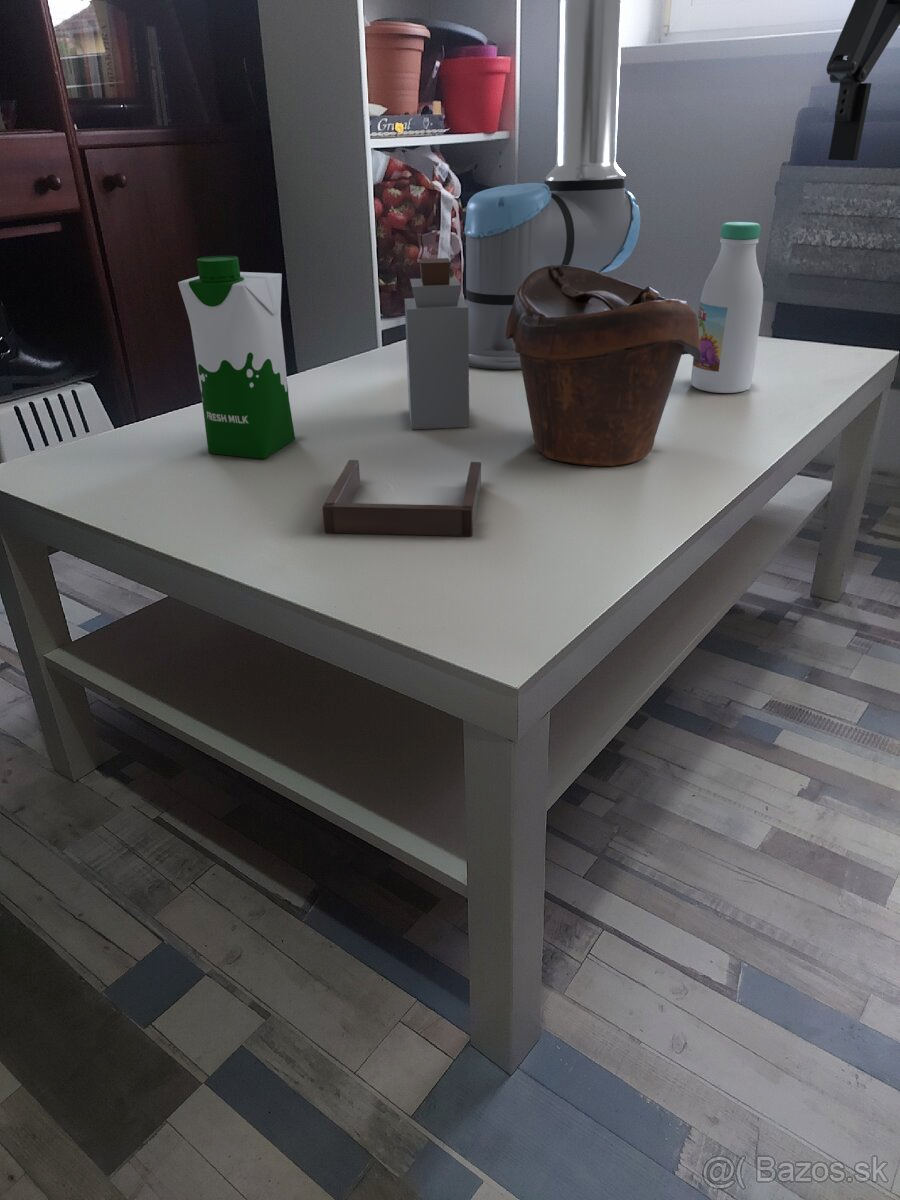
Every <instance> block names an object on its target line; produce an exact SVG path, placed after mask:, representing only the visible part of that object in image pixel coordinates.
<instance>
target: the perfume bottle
mask: <svg viewBox="0 0 900 1200" xmlns="http://www.w3.org/2000/svg"><path fill="white" fill-rule="evenodd" d="M418 261H419V269H420V270H419V271H420V278H409V282H410V286H411V291H412V295H413V297H412V298H410V297H409V298H404V320H405V321H404V323H405V324H404V325H405V347H406V371H407V374H406V375H407V396H408V397H407V398H408V400H407V401H408V417H409V422H410V423H409V424H410V429H411V430H430V429H432V430H433V429H453V428H454V429H456V428H457V429H458V428H470V366H469V321H468V306H467V304H466V300H465V298H464V296H461V295H460V294H461V291H462V290H461V289H462V284H461V282H460V280H459V278H458V277H451V261H450V259H449V258H448V257H444V258H441V257H440V258H439V257H438V258H418Z"/></svg>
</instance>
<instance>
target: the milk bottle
mask: <svg viewBox="0 0 900 1200" xmlns="http://www.w3.org/2000/svg"><path fill="white" fill-rule="evenodd" d="M761 228H762V227H761V224H760V223H758V222H749V221H729V222H725V223H722V225H721V229H720V240H719V242H720V251H719V254H718V256H717V259H716V260H715V263H714V264H713V267H712V269H711V270H710V272H709V274H708V277H707V278H706V280H705V282H704V285H703V288H702V291H701V296H700V302H699V307H698V308H699V309H698V315H697V319H698V331H699V344H700V352H701V358H700V362H697V361H696V360H695V358H694V357H693V356H692V367H691V375H690V377H691V378H690V383H691V385H692V386H693V388H695V389H698V390H700V391H705V392H709V393H717V394H718V393H719V394H732V393H733V394H734V393H741V392H745V391H747V390H749V389H750V387H751V386H752V382H753V376H754V369H755V361H756V357H757V356H756V355H757V348H758V342H759V335H760V326H761V319H762V313H763V302H764V285H763V280H762V276H761V272H760V269H759V265H758V260H757V251H756V250H757V245H758V244H759V243H760V242H759V238H760V236H761Z"/></svg>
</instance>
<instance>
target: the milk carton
mask: <svg viewBox="0 0 900 1200" xmlns="http://www.w3.org/2000/svg"><path fill="white" fill-rule="evenodd" d="M239 261H240V260H239V257H238V256H235V255H212V256H203V257H199V258H197V259H196V264H197V271H198V272H197V273H198V276H194V277H191V278H188V279H183V280H181V281H178V282H177V285H178V287H179V291H180V294H181V297H182V300H183V303H184V307H185V310H186V314H187V316H188V317H187V318H188V320H189V324H190V330H191V337H192V343H193V350H194V356H195V363H196V369H197V375H198V382H199V389H200V396H201V403H202V411H203V420H204V427H205V436H206V443H207V444H206V445H207V452H208V454H211V455H212V454H214V455H221V456H222V455H223V456H230V457H231V456H232V457H241V458H248V459H249V458H252V459H257V460H258V459H259V460H265V459H268V457H270V456H272V455H273V454H275V453H276V452H278V451H280V450H281V449H282V448H284V447H285V446H287V445H288V444H290V443H292V442H293V441H294V440H296V436H295V428H294V422H293V416H292V410H291V404H290V396H289V385H288V376H287V367H286V365H287V364H286V357H285V356H286V355H285V348H284V347H285V346H284V337H283V328H282V316H281V315H282V313H281V312H282V309H281V307H282V283H283V281H282V280H283V274H282V273H279V272H278V273H277V272H276V273H275V272H254V271H253V272H249V271H241V269H240V262H239Z"/></svg>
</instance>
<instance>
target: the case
mask: <svg viewBox="0 0 900 1200" xmlns="http://www.w3.org/2000/svg"><path fill="white" fill-rule="evenodd" d="M506 338H507V339H509V338H513V341H514V344H515V351H516V353H519V357H520V363H521V369H520V370H521V374H522V379H523V386H524V390H525V395H526V396H525V397H526V401H527V407H528V414H529V418H530V425H531V430H532V436H533V443H534V446H535V448H536V449H537V450H538V451H539V452H540V453H541V454H542V455H543V456H545V457H546V458H548V459H550V460H553V461H558V462H561V463H567V464H572V465H581V466H591V467H592V466H593V467H614V466H624V465H629V464H633V463H636V462H638V461H641V460H643V459H644V458H645V457H646V456H648V455H649V453H650V452H651V451H652V450H653V448H654V445H655V438H656V435H657V433H658V430H659V426H660V423H661V421H662V416H663V414H664V410H665V408H666V404H667V401H668V398H669V395H670V393H671V389H672V387H673V383H674V380H675V377H676V374H677V371H678V368H679V364H680V361H681V358H682V356H683V355H690V356H691V357H692V358H693V357H694V358H695V360H696V361H697V362H700V358H701V352H700V344H699V331H698V315H697V313H696V312H695V310H694V309H693V308H692V307H690V304H689V302H688V301H686V300H682V299H677V298H667V297H663V296H661V295H660V292H659V291H657V290H655V289H653V288H652V287H650V286H647V287H645V288H642V287H640V286H637V285H635V284H632V283H629V282H626V281H624V280H620V279H618V278H615V277H612V276H608V275H605V274H602V273H598V272H595V271H592V270H588V269H584V268H580V267H575V266H570V265H550V266H545V267H542V268H539V269H537V270H536V271H534V272H532V273H531V274H530V275H529V276H528V277H527V278H526V279H525V280H524V281H523V283H522V284H521V285H520V286H519V288H518V289H517V292H516V295H515V298H514V302H513V305H512V308H511V312H510V315H509V318H508V321H507V329H506Z"/></svg>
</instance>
